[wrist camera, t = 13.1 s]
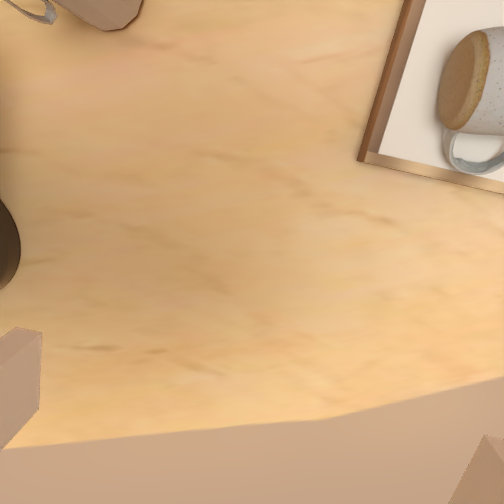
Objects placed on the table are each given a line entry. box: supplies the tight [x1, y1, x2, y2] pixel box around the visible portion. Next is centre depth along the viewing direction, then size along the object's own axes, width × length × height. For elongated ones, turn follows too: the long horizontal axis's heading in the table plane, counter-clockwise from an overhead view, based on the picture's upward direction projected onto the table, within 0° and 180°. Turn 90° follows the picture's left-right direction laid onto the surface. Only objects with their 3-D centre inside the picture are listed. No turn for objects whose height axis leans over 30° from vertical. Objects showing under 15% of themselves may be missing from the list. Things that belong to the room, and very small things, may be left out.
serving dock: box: [357, 0, 504, 194], centre depth 30 cm, size 16×19×5 cm
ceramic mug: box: [438, 26, 504, 175], centre depth 27 cm, size 11×8×8 cm
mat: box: [378, 0, 504, 182], centre depth 30 cm, size 14×15×1 cm
